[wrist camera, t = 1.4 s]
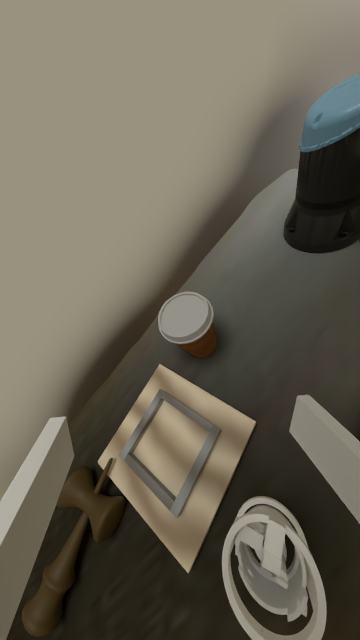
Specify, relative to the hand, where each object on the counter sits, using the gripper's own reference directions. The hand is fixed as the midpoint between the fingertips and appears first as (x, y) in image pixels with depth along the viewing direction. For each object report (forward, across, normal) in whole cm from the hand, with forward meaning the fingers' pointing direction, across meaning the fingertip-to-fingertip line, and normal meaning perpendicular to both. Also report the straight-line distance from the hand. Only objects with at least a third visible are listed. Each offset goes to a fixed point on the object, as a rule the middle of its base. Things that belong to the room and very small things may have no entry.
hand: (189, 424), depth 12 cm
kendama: (+14, -13, -33) cm, 38 cm away
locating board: (+17, +1, -22) cm, 28 cm away
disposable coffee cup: (+29, +8, -9) cm, 31 cm away
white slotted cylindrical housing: (+6, +12, -24) cm, 27 cm away
